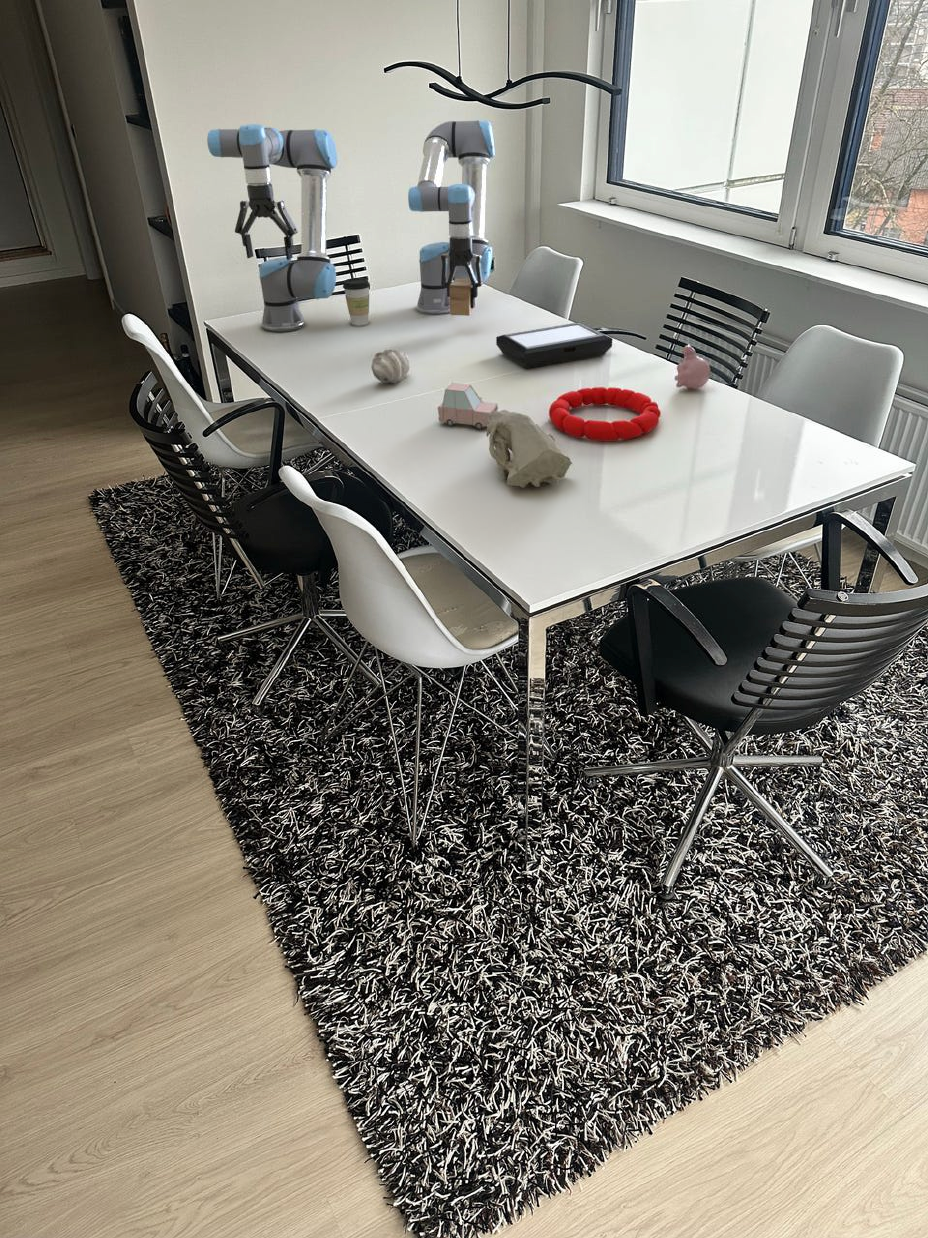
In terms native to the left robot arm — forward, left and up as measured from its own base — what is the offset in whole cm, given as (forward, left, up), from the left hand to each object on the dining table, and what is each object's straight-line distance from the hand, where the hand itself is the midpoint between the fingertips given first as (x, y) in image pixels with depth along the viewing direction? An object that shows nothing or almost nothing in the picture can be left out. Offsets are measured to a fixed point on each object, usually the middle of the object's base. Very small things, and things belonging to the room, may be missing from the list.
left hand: (269, 257), depth 279 cm
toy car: (+71, +50, -32) cm, 92 cm away
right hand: (-11, +63, -23) cm, 68 cm away
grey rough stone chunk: (+104, +57, -32) cm, 123 cm away
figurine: (+61, +118, -32) cm, 137 cm away
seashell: (+33, +33, -32) cm, 57 cm away
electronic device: (+21, +87, -32) cm, 95 cm away
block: (-11, +63, -24) cm, 68 cm away
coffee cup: (-32, +28, -32) cm, 53 cm away
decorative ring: (+79, +86, -32) cm, 121 cm away
